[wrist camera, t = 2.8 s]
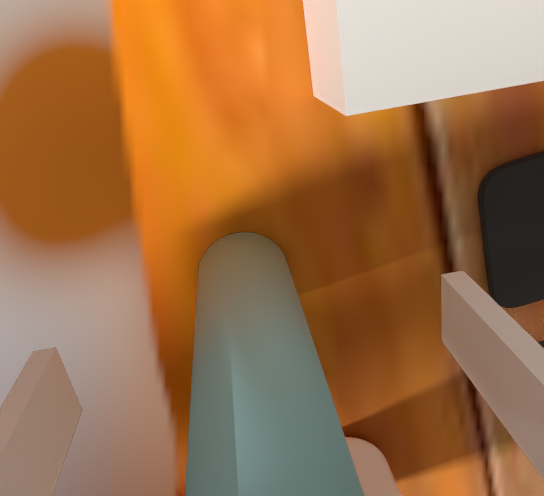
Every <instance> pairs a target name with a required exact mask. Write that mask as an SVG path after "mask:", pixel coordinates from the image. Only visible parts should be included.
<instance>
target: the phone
mask: <svg viewBox="0 0 544 496" xmlns="http://www.w3.org/2000/svg"><path fill="white" fill-rule="evenodd" d="M478 204H479V213H480V221H481V230H482V238H483V247H484V255H485V263H486V271H487V279H488V287H489V292H490V295H491V297H492V298H493V300H494V301H495V302H496V303H498V304H499V305H500V306H502V307H506V308H514V307H519V306H523V305H526V304H529V303H532V302H536V301H539V300H542V299H544V151H542V152H539V153H536V154H533V155H530V156H526V157H523V158H520V159H517V160H514V161H511V162H508V163H505V164H503V165H500V166H498V167H496V168H494V169H493V170H491V171H490V172H489V173H488V174H487V175H486V176H485V177H484V178H483V180H482V182H481V184H480V187H479V191H478Z"/></svg>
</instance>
